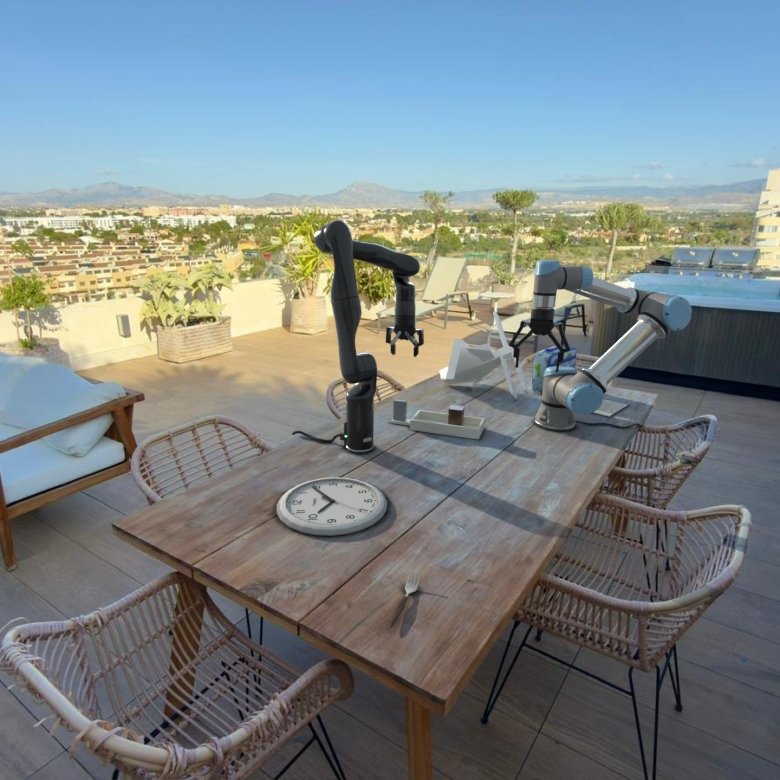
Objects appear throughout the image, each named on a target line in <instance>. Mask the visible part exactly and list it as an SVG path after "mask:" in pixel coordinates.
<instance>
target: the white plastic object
mask: <svg viewBox="0 0 780 780" xmlns="http://www.w3.org/2000/svg"><path fill="white" fill-rule="evenodd" d="M492 315H493V319H494V321H495V324H496V325H495V326H496V328H497V332H498V335H499V338H500V342H501V345H502V347H500V348H498V349H496V350H495V349H493V348H492V347H491V346H490V344H489V343H488V342H487V343H483V344H479V345H473V346H469V345H468V343H466V342H465V340H464V339H463V338H460V339H458V338H454V340H453V344H452V349H451V353H450V357H449V362H448V366H446V367H444V368H442V369H440V370H439V371H438V372H439V376H440V381H442V383H443V384H444V385H445V386H449V385H458V384H467V383H468V384H469V383H473V384H477V383H480V382H482V381H484V378H485V377H486V376H487V375H489V374H490V373H492V372H494V371H495V370H496V369H497V368H499V367H500V366H502V370H503V373H504V376H505V380H506V383H507V386H508V390H509V393H510V394H511V395H512V397H513V398H514V399H515V400H517V392H516V391H517V390H516V388H515V385H514V381H513V378H512V375H511V371H510V369H509V365H508V361H510V360H513V363H514V366H516V358H514V357H513V352H514V349H513V348H512V347H510V346H509V343H508V341H507V337H506V334H505V331H504V328H503V325H502V321H501V318H500V315H499V314H498V312H497V311H496V310H495V311H492ZM522 368H523V367H522V366H521V362H520V361H519V364H518V368H515V369H516V372H517V376H518V380H519V382H520V385H521V389H522V391H523V393H524V395H525V396H526V397H528V396H531V395H530V390H529V388H528V387H529V386H528V384H527V381H526V378H525V375H524V371H523V369H522Z"/></svg>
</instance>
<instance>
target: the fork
mask: <svg viewBox="0 0 780 780" xmlns="http://www.w3.org/2000/svg"><path fill="white" fill-rule="evenodd" d="M415 572H416V571H415V570H414V572H413V573H412V569H411V570H410V573H409V576H408V577H407V578H408V579H407V581H406V583H405V586H404V590H405V592H406V594H405V595H404V597H403V598H402V599H401V601H400V602H399V604H398V605H397V608H396V610H395V613H394V616H393V619H392V621H391V624H390V628H392V627H393V626H394V624H395V623H396V621H397V620H398V618H399V616H400V615H401V613H402V612H403V610H404V608H405V605H406V602H407V599H408V597H409V595H410V594H413V593H415V592H417V590H418V588H419V584H420V579H421V575H422V572H420V573H419V572H418V571H417V572H416V575H415ZM418 573H419V576H418ZM411 575H412V577H411ZM414 576H415V578H414ZM417 578H418V579H417ZM413 580H414V581H413ZM416 582H417V583H416Z"/></svg>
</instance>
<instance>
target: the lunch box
mask: <svg viewBox="0 0 780 780" xmlns="http://www.w3.org/2000/svg"><path fill="white" fill-rule="evenodd" d="M562 347H563V348H565V346H564V345H562ZM558 351H559V349H558V348H557V346H556V345H553V346H550V347H546V348H545V349H542V350H539V351H538V352H537V353H536V354H535V356H534V358H533V365H532V376H531V377H532V378H531V390H532V391H533V392H537V393H542V391H543V382H544V373H545V370H546V369H547V368H548V367H557V358H558ZM576 362H577V348H576V347H571V346H570V351H569V352H565V353H564V358H563V362H559V366H560V367H572V368H576V364H577V363H576Z"/></svg>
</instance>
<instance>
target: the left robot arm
mask: <svg viewBox="0 0 780 780" xmlns="http://www.w3.org/2000/svg"><path fill="white" fill-rule="evenodd" d="M313 240H314V244H315V247H316V248H317V249H318V250H319V251H320V252H321V253H322V254H324V255H329V256H332V261H333V276H332V282H331V287H330V294H329V295H330V297H329V298H330V303H331V309H332V314H333V318H334V324H335V330H336V331H335V332H336V338H337V346H338V347H337V348H338V359H339V369H340V373H341V376H342V378H343V380H344V381H345V383H347V384H348V385H353V386H352V387H351V388H350V389H349V390H348V391H347V392H346V393H345V406H346V407H345V408H346V409H345V412H346V414H345V415H346V420H345V421H344V422H343V431H342V432H340V433H337V434H335V435H334V436H333V437H332V438H331V439H323V438H319V437H316V436H314V435H311V434H308V433H306V432H305V431H302V430H294V431H293V432H291V435H293V436H295V435H297V434H299V435H302V436H305V437H307V438H309V439H311V440H314V441H316V442H321V443H325V444H326V443H328V444H329V443H333V442H334V441H336V439H337V438H338V437H339V440H340V441H343V448H344V449H346V451H348V452H350V453H353V454H367V453H370V452H372V451H373V450H374V448H375V444H374V432H375V431H374V424H375V423H374V420H375V418H374V415H375V414H374V413H375V411H374V410H375V408H374V407H375V405H374V404H375V395H376V393H377V383H378V382H377V381H378V364H377V361H376V358H375V357H374V355H373V354H371V353H370V352H360V353H358V352H357V347H356V336H357V332H358V329H359V325H360V323H361V320H362V319H361V318H362V304H361V298H360V292H359V288H358V281H357V276H356V275H357V274H356V268H355V260H356V261H360V262H363V263H366V264H369V265H372V266H374V267H377V268H380V269H383V270H386V271H391V273H392V278H393V282H394V286H395V303H394V327H393V326H388V327H386V329H385V343H386V344H389V346H390V354H391V355H392V356H395V355H396V353H397V352H396V351H397V345H396V343H397V342H398V341H399V340H400V341H403V340H404V341H409V342H410V343H411V344H412V345H413V357H414V358H417V356H419V353H420V351H419V350H420V347H422V346H424V344H425V337H424V335H425V334H424V333H425V332H424V331H425V330H424V329H423V328H420V329H417V328H416V287H415V284H413V283H412V282H411V281H410V278H412V277H415V276H416V275H418V274H419V272H420V271H421V264H420V261H419V259H417V258H416V257H415V256H413V255H410V254H406V253H402V252H399V251H395V250H393V249H392V248H388V247H386V246H383V245H381V244H377V243H371V242H366V241H365V242H364V241H358V240H354V239H353V236H352V231H351V229H350V227H349V225H348V224H347V223H346V222H344V221H343V220H340V219H336V220H333V221H331V222H329V223H327V224H325V225H322V226H320V227H319V228H318V229H316V231H315V233H314V236H313ZM393 333H394V334H395V336H394V337H393V338H392V334H393ZM415 334H416V335H417V336H418V340H417V338H416V336H415Z"/></svg>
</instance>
